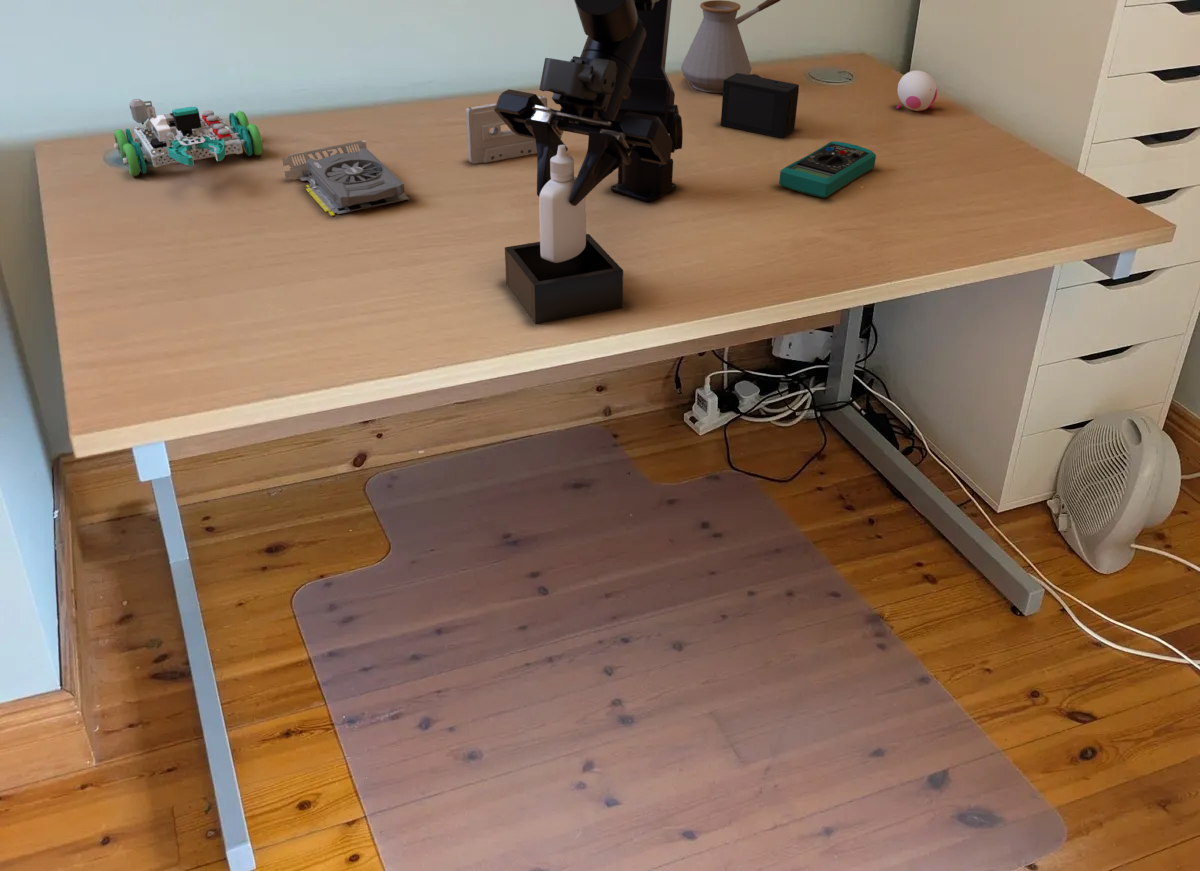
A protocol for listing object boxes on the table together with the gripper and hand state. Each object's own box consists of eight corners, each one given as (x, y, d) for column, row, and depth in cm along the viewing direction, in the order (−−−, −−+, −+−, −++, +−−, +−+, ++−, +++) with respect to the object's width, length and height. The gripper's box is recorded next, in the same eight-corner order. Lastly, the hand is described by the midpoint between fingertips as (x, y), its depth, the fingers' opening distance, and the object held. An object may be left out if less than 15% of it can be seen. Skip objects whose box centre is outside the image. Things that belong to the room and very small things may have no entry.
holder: (506, 283, 127) (504, 247, 125) (588, 269, 131) (588, 233, 128) (535, 324, 120) (534, 285, 117) (622, 307, 123) (623, 270, 120)
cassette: (472, 165, 157) (469, 111, 153) (467, 161, 158) (463, 107, 154) (550, 151, 162) (549, 98, 158) (544, 147, 163) (543, 94, 159)
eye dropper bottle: (531, 249, 123) (528, 142, 116) (579, 241, 125) (579, 135, 118) (546, 266, 120) (543, 157, 113) (595, 257, 122) (595, 149, 115)
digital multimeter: (876, 168, 157) (879, 148, 156) (825, 201, 148) (828, 179, 146) (829, 157, 161) (832, 136, 159) (776, 188, 151) (778, 166, 150)
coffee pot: (701, 100, 181) (707, 2, 173) (668, 80, 190) (672, -14, 181) (813, 84, 189) (824, -11, 180) (776, 65, 197) (785, -26, 189)
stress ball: (926, 137, 177) (958, 103, 174) (889, 107, 175) (920, 73, 172) (918, 119, 184) (948, 86, 180) (881, 90, 181) (911, 56, 178)
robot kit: (148, 213, 143) (131, 141, 138) (112, 150, 161) (96, 84, 156) (293, 186, 151) (282, 117, 145) (243, 129, 169) (232, 65, 163)
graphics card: (279, 153, 151) (365, 136, 156) (284, 180, 153) (368, 162, 158) (318, 198, 139) (410, 178, 144) (323, 226, 141) (413, 206, 146)
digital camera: (798, 128, 171) (803, 81, 167) (783, 138, 167) (788, 91, 163) (736, 115, 175) (740, 70, 171) (720, 125, 172) (723, 79, 168)
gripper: (499, 10, 116) (445, 149, 114) (665, 35, 109) (610, 184, 107) (540, 67, 126) (491, 195, 124) (694, 93, 119) (645, 230, 117)
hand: (555, 200), depth 118 cm, fingers closed on eye dropper bottle, 3 cm apart
